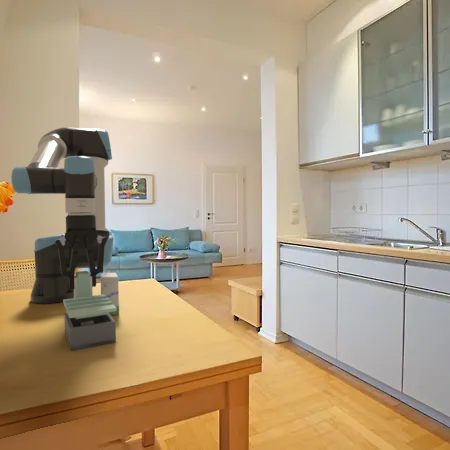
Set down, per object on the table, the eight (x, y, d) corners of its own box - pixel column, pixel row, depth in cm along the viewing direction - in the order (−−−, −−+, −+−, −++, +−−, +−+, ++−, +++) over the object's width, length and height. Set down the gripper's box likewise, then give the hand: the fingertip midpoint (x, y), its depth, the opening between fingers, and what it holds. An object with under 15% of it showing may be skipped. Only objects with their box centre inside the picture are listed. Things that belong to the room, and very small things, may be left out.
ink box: (119, 314, 106) (118, 276, 106) (102, 316, 104) (101, 277, 104) (116, 307, 114) (116, 271, 114) (100, 309, 112) (100, 272, 112)
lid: (69, 322, 78) (68, 287, 78) (61, 302, 95) (60, 273, 95) (116, 315, 83) (115, 282, 83) (101, 296, 101) (100, 269, 100)
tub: (70, 350, 79) (70, 328, 79) (65, 332, 91) (64, 313, 91) (115, 342, 84) (115, 321, 84) (104, 325, 96) (104, 307, 96)
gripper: (48, 215, 87) (51, 307, 89) (114, 214, 95) (116, 298, 97) (46, 214, 94) (49, 300, 95) (108, 213, 102) (110, 292, 103)
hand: (83, 299), depth 96 cm, fingers closed on lid, 3 cm apart
